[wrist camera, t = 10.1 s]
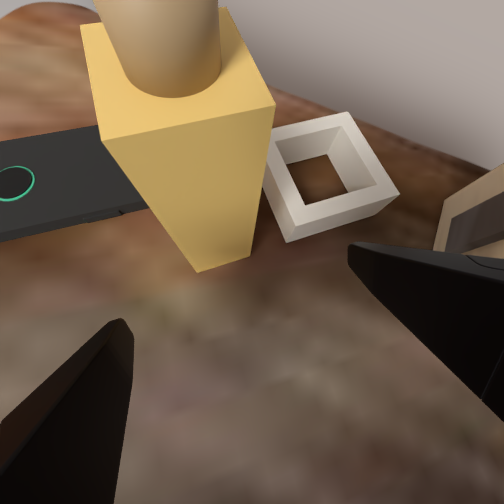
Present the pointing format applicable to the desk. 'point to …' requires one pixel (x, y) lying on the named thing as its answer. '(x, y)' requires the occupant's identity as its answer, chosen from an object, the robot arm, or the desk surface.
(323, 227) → the white square frame
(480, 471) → the desk surface
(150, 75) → the yellow block with peg
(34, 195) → the smart home device
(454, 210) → the toolbox
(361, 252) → the robot arm
